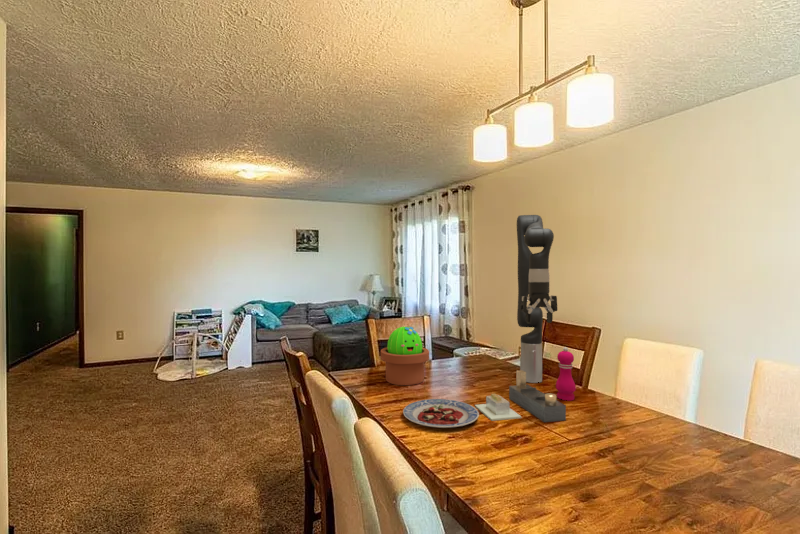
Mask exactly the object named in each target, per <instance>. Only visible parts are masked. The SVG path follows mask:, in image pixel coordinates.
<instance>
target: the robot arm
mask: <svg viewBox="0 0 800 534" xmlns="http://www.w3.org/2000/svg"><path fill="white" fill-rule="evenodd" d="M543 223H544V222H543V219H542V217H541V215H538V214H523V215H518V216H517V218H516V240H517V284H518V285H517V291H518V292H517V293H518V294H517V312H516V318H517V319H516V321H517V324H518V327H520V328H533V330H531V331H530V332H528V333H527V332H526V333H524V334H522V335H521V336H520V358H519V370H523V371H525V372H526V383H532V384H538V382H539V383H542V382H543V319H544V312H543V310H542V308H544V310H546V323H549V324H551V323H552V322H553V320H554V319H553V317H554V315H553V313H555V312H557V311H558V298H557V297H558V296H557V295H550V272H549V271H550V268H549V267H550V265H549V263H550V262H549V261H550V260H549V259H550V252H551V249H552V246H553V242H554V237H555V235H554V232H553V230H552V229H551V228H544V224H543ZM530 248H543V249H542V250H541V251H539V252H534V253H533V252H532V251H531V249H530ZM549 301H550V303H549ZM528 302H529V303H528Z"/></svg>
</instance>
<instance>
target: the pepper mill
mask: <svg viewBox="0 0 800 534" xmlns="http://www.w3.org/2000/svg"><path fill="white" fill-rule="evenodd" d="M556 359H557V361H558V362H559V363H558V367H559V375H558V378H557V380H556V382H555V389H556V391H557V392H556V398H557V399H559V400H561V399H562V401H566V400H567V401H568V402H569V401H570V402H571V401H574V400H575V393H574V392H575V391H577V390H576V389H577V387H576V383H575V381H574V379H573V376H572V369H573V362H574V359H575V357H574V354H573V353H572V352H570V351H569V348H568V347H566V346H564V347H563V348H562V350H561V351H559V352H558V354H557V358H556Z"/></svg>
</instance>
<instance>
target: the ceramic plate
mask: <svg viewBox="0 0 800 534" xmlns="http://www.w3.org/2000/svg"><path fill="white" fill-rule="evenodd" d="M402 413H403V416H404V417H405V418H406V419H408V420H409V421H410V422H412V423H415V424H417V425H419V426H420V425H421V426H424V427H431V428H441V429H442V428H443V429H444V428H446V429H447V428H457V427H463V426H467V425H469V424H472V423H474V422H475V421H476V420H478V418H479V415H480V412H479V410H478V409H477V408H476V407H475V406H472V405H471V404H469V403H466V402H463V401H459V400H453V399H446V398H444V399H443V398H430V399H429V398H427V399H422V400H417V401H414V402H412V403H409V404H408V405H406V406H405V407H404V408H403V409H402Z"/></svg>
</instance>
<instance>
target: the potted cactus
mask: <svg viewBox="0 0 800 534" xmlns="http://www.w3.org/2000/svg"><path fill="white" fill-rule="evenodd" d="M386 342H387V346H386V347H384V348H382V349H380V360H381V361H382V362H385V380H386V381H387V383H389V384H392V385H396V386H413V385H414V386H415V385H418V384H421V383H423V382H424V381H425V363H426V362H428V361H429V360H430V350H429V349H428V348H426V347H423V342H422V338H421V336H420V335H419V333H418V332H417V331H416V330H415V329H414V327H413V326H405V325H402V326H400V327H399V326H398V327H397V328H395V329H394V330H393V331H391V333H390V334H389V337H388V340H387V341H386Z"/></svg>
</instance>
